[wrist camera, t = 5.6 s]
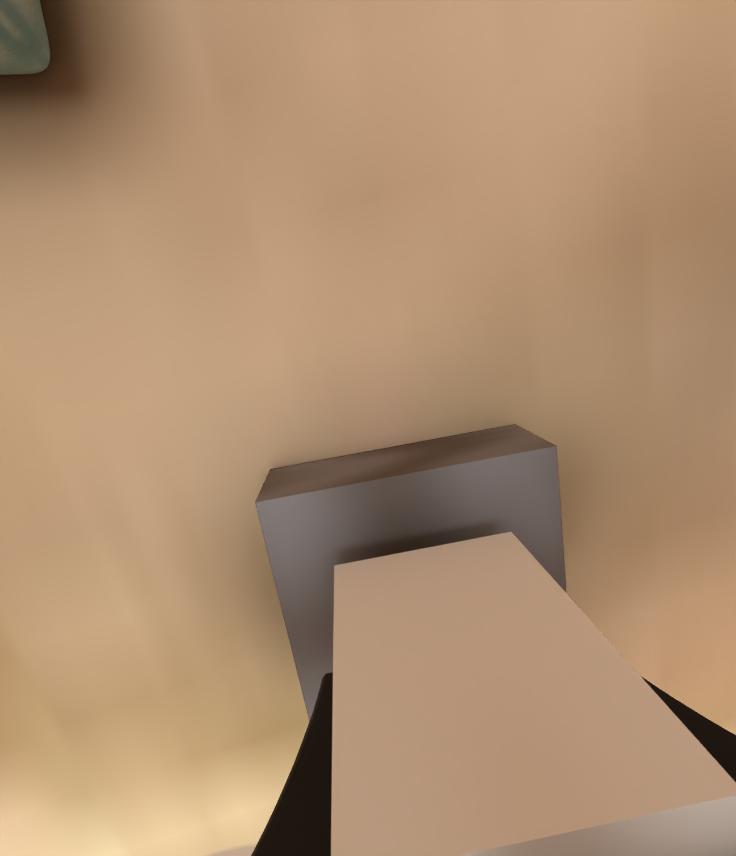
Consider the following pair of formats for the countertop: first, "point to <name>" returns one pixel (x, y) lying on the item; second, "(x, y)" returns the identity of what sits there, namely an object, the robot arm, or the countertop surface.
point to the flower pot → (22, 38)
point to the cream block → (502, 720)
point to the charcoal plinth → (400, 519)
